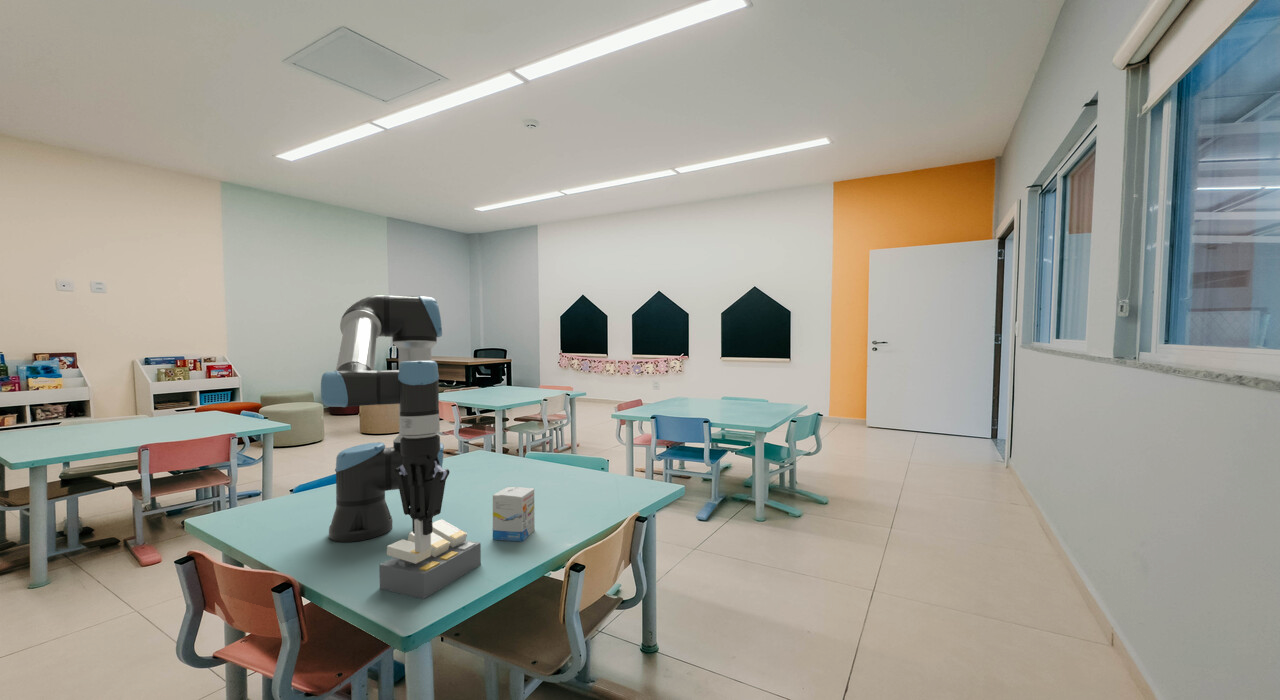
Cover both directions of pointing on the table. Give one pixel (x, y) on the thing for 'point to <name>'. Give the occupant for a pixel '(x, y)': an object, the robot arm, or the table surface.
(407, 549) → the rocker
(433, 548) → the rocker
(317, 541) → the table surface
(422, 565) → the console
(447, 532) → the rocker
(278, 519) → the table surface
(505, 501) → the ink box
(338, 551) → the table surface
